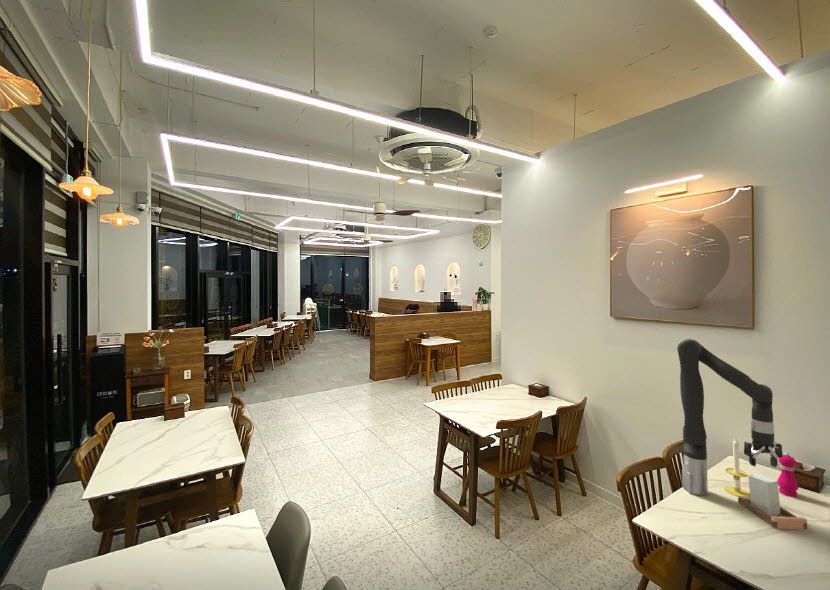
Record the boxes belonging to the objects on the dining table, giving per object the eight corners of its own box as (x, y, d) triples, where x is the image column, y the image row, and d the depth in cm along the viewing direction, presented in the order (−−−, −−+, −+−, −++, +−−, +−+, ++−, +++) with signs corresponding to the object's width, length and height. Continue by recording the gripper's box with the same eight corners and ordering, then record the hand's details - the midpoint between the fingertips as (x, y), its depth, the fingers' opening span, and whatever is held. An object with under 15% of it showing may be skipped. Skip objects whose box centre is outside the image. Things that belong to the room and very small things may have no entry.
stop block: (774, 528, 151) (774, 518, 151) (771, 525, 152) (770, 516, 152) (807, 529, 150) (806, 519, 150) (803, 527, 151) (803, 517, 151)
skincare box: (780, 515, 159) (779, 481, 159) (770, 517, 158) (769, 483, 158) (758, 505, 167) (757, 472, 168) (748, 506, 166) (747, 474, 166)
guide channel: (774, 528, 151) (774, 522, 151) (738, 502, 170) (738, 497, 170) (807, 529, 150) (806, 523, 150) (766, 503, 169) (766, 497, 169)
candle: (748, 490, 180) (746, 435, 180) (753, 499, 172) (751, 442, 172) (722, 484, 185) (720, 432, 186) (725, 494, 177) (724, 438, 177)
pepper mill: (803, 498, 172) (801, 456, 172) (785, 496, 174) (784, 455, 174) (790, 490, 179) (789, 449, 179) (773, 489, 181) (772, 448, 181)
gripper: (752, 432, 160) (753, 469, 160) (787, 433, 159) (788, 470, 159) (738, 426, 168) (739, 461, 167) (772, 427, 166) (773, 462, 166)
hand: (763, 465), depth 163 cm, fingers open, 8 cm apart
